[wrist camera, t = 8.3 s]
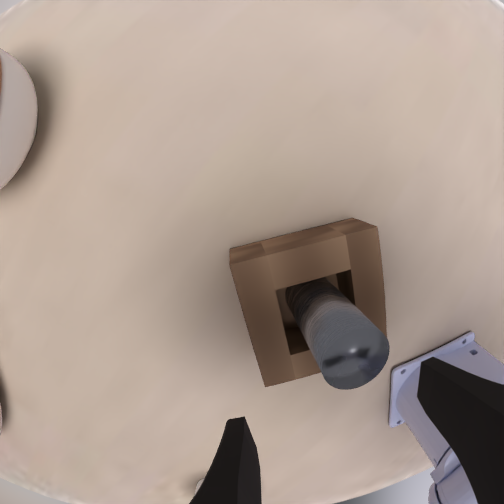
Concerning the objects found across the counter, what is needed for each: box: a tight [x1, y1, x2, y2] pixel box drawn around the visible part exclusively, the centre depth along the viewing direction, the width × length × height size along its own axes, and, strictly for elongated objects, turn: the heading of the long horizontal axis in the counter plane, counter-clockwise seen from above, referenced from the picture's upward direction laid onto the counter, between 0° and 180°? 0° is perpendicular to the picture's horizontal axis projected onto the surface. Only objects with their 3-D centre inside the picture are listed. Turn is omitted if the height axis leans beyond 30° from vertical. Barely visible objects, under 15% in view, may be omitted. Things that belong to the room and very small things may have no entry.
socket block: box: [230, 218, 387, 387], centre depth 18 cm, size 8×8×4 cm
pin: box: [285, 277, 389, 389], centre depth 15 cm, size 3×3×8 cm
